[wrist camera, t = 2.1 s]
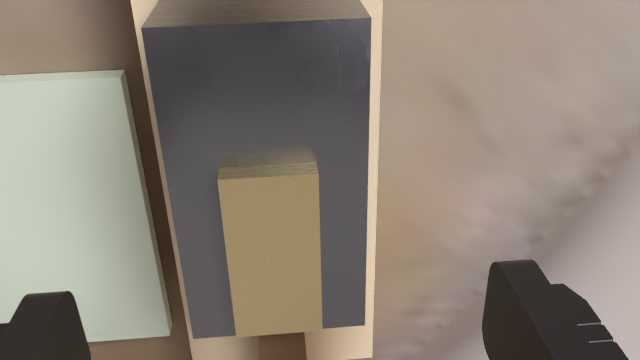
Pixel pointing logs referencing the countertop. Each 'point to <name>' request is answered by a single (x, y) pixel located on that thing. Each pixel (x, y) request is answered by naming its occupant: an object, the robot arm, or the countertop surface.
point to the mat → (78, 204)
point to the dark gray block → (265, 158)
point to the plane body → (356, 341)
